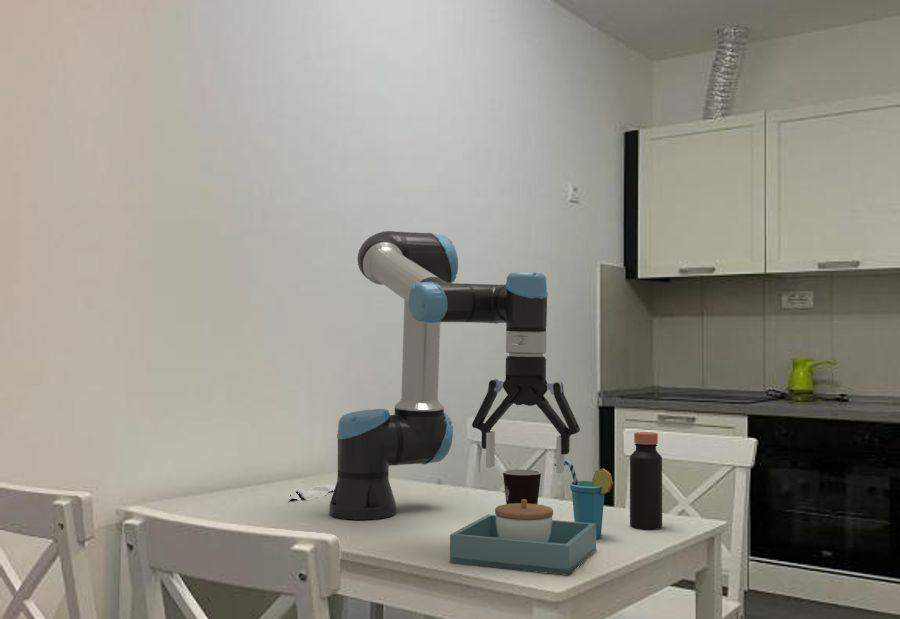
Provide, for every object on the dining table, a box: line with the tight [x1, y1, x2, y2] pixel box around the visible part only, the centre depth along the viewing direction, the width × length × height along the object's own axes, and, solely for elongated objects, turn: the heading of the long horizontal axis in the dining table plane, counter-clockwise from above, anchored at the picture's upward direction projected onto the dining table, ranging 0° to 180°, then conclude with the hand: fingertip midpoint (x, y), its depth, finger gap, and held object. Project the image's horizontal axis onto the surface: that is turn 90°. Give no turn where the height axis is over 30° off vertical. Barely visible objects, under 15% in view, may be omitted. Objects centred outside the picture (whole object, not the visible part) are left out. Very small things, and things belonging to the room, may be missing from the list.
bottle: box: [629, 431, 663, 531], centre depth 194 cm, size 7×7×20 cm
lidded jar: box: [494, 499, 554, 542], centre depth 168 cm, size 11×11×9 cm
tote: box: [449, 514, 597, 576], centre depth 168 cm, size 22×20×5 cm
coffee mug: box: [502, 468, 542, 504], centre depth 206 cm, size 12×9×10 cm
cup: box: [553, 460, 614, 540], centre depth 185 cm, size 14×8×15 cm, turn 53°
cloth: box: [288, 484, 336, 500], centre depth 232 cm, size 26×14×2 cm, turn 145°
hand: (524, 469), depth 168 cm, fingers open, 13 cm apart
